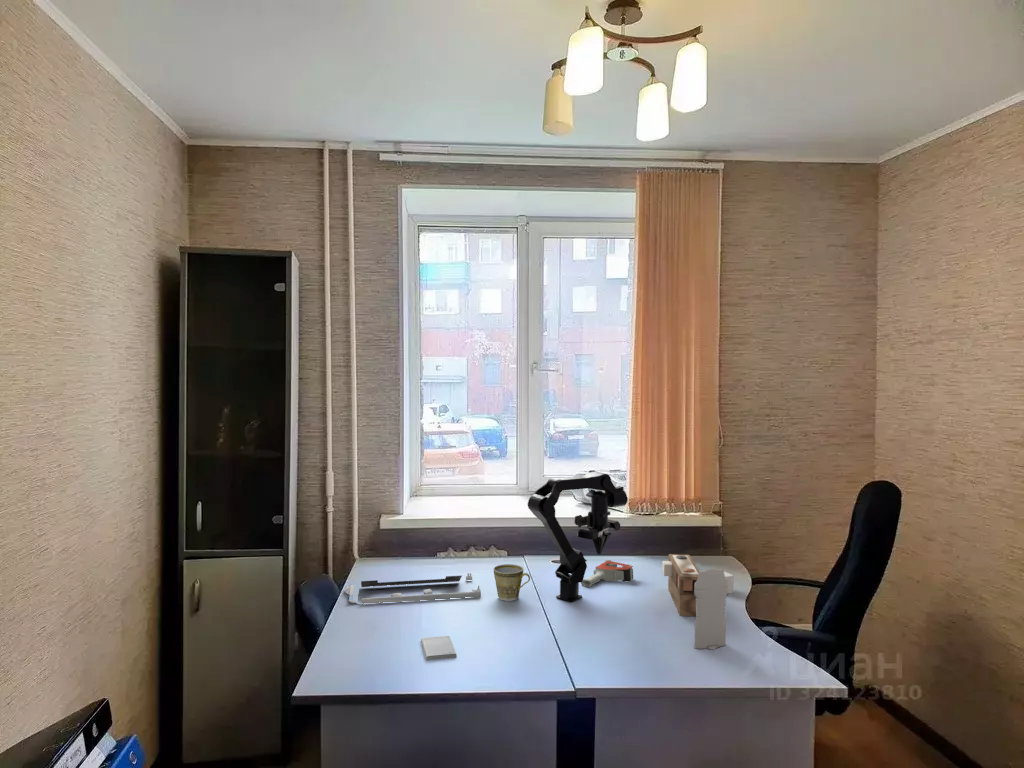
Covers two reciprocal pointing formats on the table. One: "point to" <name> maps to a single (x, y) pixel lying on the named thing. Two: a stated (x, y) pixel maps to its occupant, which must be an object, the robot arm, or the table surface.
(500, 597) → the ceramic cup
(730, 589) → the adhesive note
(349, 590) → the paper cutter
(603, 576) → the tape dispenser
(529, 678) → the table surface
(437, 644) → the hard drive
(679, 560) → the wooden stand
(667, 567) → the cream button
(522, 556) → the table surface
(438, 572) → the table surface
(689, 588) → the salmon pink cube
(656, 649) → the table surface
